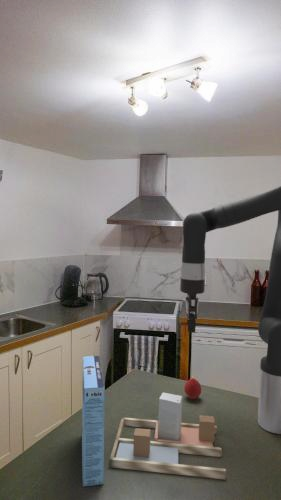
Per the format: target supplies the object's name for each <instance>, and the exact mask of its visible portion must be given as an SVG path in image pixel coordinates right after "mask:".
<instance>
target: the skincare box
mask: <svg viewBox="0 0 281 500" xmlns="http://www.w3.org/2000/svg"><path fill="white" fill-rule="evenodd" d="M182 416H183V396H182V395H178V394H173V393H169V392H168V393H167V392H161V395H160V396H159V399H158V416H157V417H158V419H157V420H158V439H161V440H171V441H180V435H181V423H182Z"/></svg>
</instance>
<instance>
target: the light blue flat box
mask: <svg viewBox="0 0 281 500" xmlns="http://www.w3.org/2000/svg"><path fill="white" fill-rule="evenodd" d="M105 391H106V388H105V383H104V377H103V371H102V365H101V358H100V355H89V356H88V355H87V356H83V357H82V395H81V396H82V399H81V400H82V406H81V407H82V409H81V411H82V412H81V413H82V414H81V417H82V418H81V421H82V422H81V425H82V426H81V429H82V430H81V433H82V434H81V447H82V448H81V450H82V451H81V457H82V460H81V461H82V467H81V468H82V487H90V486H98V485H100V486H101V485H103V484H104V475H105V474H104V472H105V471H104V469H105V468H104V467H105V465H104V464H105V459H104V458H105V456H104V455H105V398H106V397H105V393H106V392H105Z"/></svg>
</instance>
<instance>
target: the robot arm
mask: <svg viewBox="0 0 281 500" xmlns="http://www.w3.org/2000/svg"><path fill="white" fill-rule="evenodd" d="M273 212H278V213H277V224H276V226H277V227H276V231H275V234H274V240H273V245H272V249H271V254H270V261H269V262H270V263H269V269H268V270H269V271H268V278H267V285H266V290H265V291H266V292H265V298H264V302H263V306H262V309H261V314H260V317H259V322H258V328H257V329H258V332H257V333H258V335H259V337H260V339H261V340H262V342H264V343H265V344H266V345H267V347H266V349H267V351H266V355H265V356H263V357H261V359H260V367H259V386H258V406H257V407H258V410H257V424H258V426H260V428H262V429H263V430H264V431H267V432H269V433H272V434H276V435H281V185H280V186H277V187H275V188H272V189H269V190H266V191H265V192H261V193H257V194H255V195H251V196H247V197H244V198H240V199H235V200H233V201H229V202H226V203H223V204H219V205H216V206H214V207H212V208H211V209H207V210H204V211H203V210H202V211H199V212H191V213H189V214H187V215H186V216H185V218H184V219H183V222H182V224H183V225H182V230H183V231H182V233H183V234H182V239H183V242H182V243H183V244H182V252H181V255H182V256H181V257H182V258H181V268H180V286H179V289H180V292H181V293H184V294H187V295H186V296H185V297H184V298H185V299H184V300H185V301H184V302H185V309H186V310H185V311H186V314H187V316H186V324H187V332H188V333H192V334H193V333H196V325H197V323H196V321H197V319H198V311H199V303H200V302H199V297H197V295H198V294H199V295H201V294H204V293H205V290H206V289H205V288H206V287H205V286H206V284H205V283H206V282H205V281H206V265H205V264H206V263H205V262H206V248H205V246H206V238H207V237H206V236H207V233H209V232H212V231H215V230H218V229H223V228H227V227H232V226H234V225H238V224H241V223H245V222H247V221H250V220H252V219H256V218H258V217H261V216H264V215H266V214H270V213H273Z"/></svg>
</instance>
